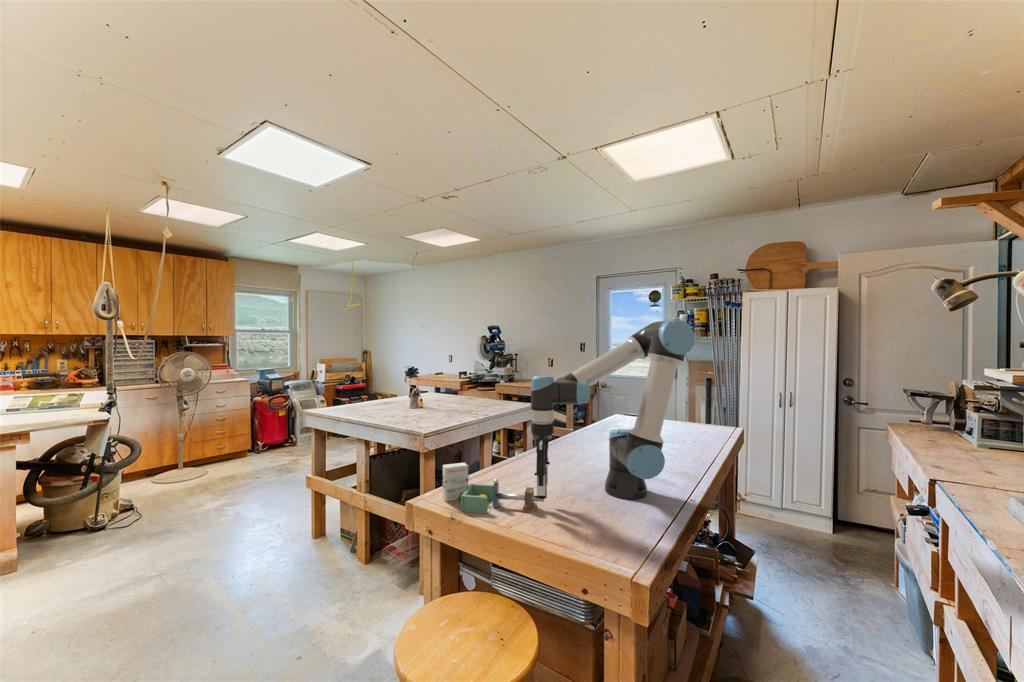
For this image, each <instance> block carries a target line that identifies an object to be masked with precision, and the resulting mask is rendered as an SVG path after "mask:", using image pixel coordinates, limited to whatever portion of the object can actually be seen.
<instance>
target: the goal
mask: <svg viewBox="0 0 1024 682" xmlns="http://www.w3.org/2000/svg"><path fill="white" fill-rule="evenodd" d="M493 485H494V484H487V483H486V484H485V483H484V484H483V483H469V484H468V488H467V489H466V490H465V492H464V493H463V494H462V496H461V499H460V511H461V512H462V511H463V512H464V513H465V512H466V513H477V514H478V513H479V514H488V513H489V511H490V509H491V507H493ZM481 494H484V495H486V496H479V495H481ZM487 498H488V501H491V502H490V504H489V506H488V501H487Z"/></svg>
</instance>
